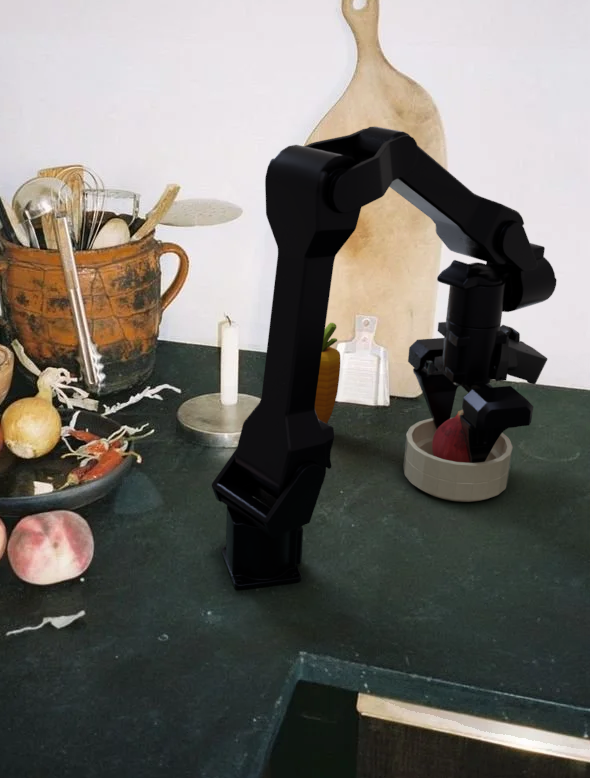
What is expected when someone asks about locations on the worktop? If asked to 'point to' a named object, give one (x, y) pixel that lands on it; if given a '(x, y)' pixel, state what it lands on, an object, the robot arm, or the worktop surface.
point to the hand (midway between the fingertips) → (458, 449)
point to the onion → (450, 441)
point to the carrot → (327, 376)
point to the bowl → (454, 468)
